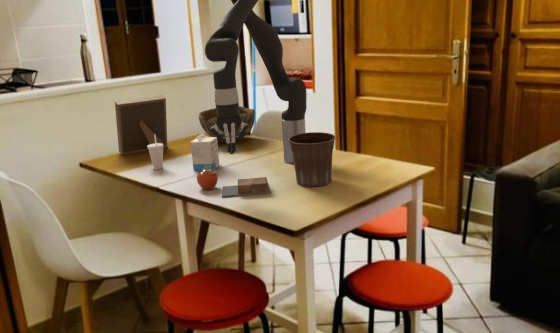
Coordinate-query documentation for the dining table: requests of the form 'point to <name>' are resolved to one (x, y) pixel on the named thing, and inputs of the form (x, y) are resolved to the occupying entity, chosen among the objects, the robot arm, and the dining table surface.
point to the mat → (233, 191)
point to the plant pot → (312, 158)
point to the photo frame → (141, 123)
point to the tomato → (207, 179)
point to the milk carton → (204, 152)
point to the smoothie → (156, 154)
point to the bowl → (209, 121)
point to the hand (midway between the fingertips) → (232, 153)
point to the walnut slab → (252, 185)
